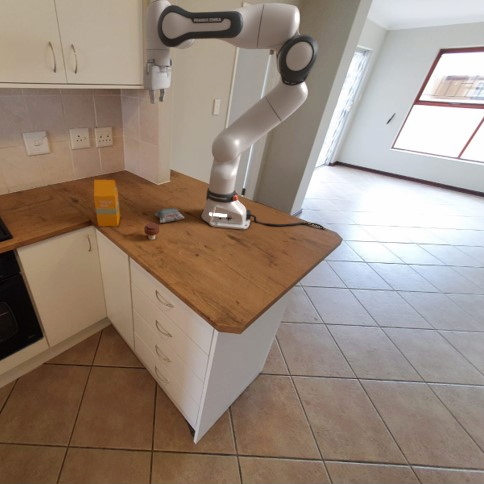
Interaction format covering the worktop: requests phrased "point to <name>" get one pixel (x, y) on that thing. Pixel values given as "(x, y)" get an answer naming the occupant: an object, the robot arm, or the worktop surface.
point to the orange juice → (106, 202)
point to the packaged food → (169, 215)
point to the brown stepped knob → (151, 230)
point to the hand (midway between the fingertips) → (157, 102)
